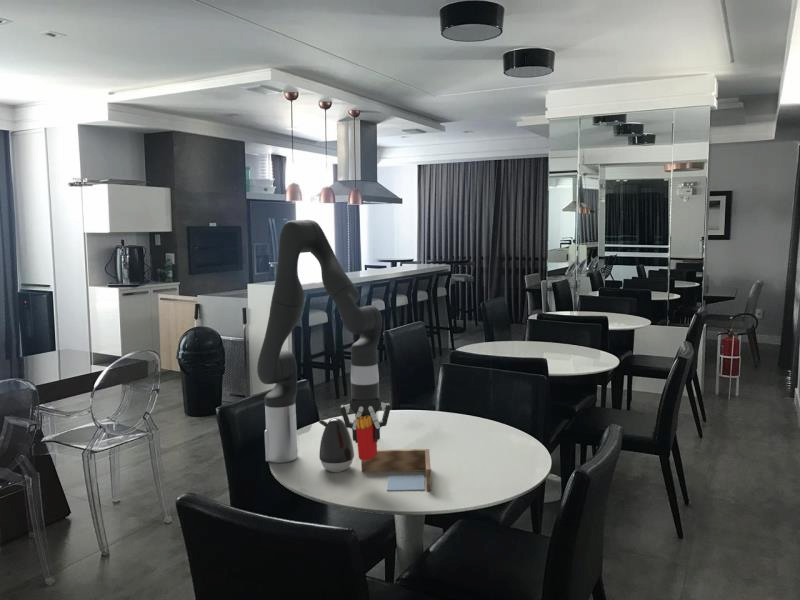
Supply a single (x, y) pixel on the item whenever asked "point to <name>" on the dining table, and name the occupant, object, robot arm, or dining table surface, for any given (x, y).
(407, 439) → the dining table surface
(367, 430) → the french fries
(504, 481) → the dining table surface
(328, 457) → the pump dispenser
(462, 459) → the dining table surface
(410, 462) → the wooden corner bracket
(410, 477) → the mat
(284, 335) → the robot arm
